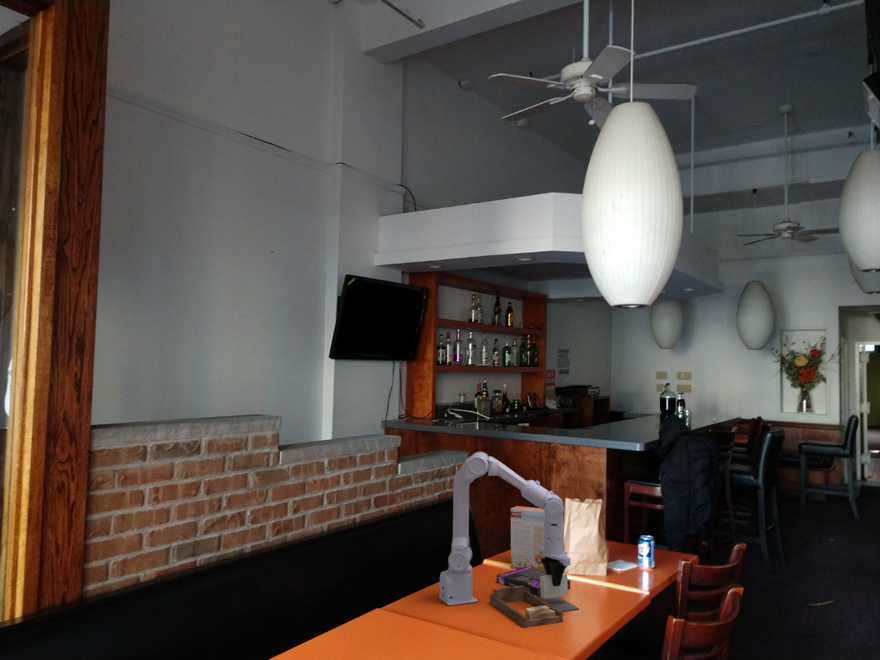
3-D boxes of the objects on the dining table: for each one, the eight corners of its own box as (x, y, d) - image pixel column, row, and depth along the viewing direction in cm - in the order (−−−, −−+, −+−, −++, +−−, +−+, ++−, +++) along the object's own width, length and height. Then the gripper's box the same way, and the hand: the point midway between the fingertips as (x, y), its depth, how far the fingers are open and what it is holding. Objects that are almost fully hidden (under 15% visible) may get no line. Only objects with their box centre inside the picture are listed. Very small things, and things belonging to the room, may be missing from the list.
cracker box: (554, 570, 231) (554, 509, 233) (547, 575, 226) (547, 512, 228) (517, 564, 239) (517, 504, 240) (510, 568, 234) (510, 507, 235)
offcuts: (527, 625, 180) (527, 611, 180) (522, 622, 183) (522, 608, 183) (556, 621, 183) (556, 607, 184) (551, 618, 186) (551, 604, 186)
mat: (551, 613, 189) (551, 612, 189) (530, 600, 200) (530, 599, 201) (578, 609, 193) (578, 608, 193) (556, 596, 204) (556, 595, 204)
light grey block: (544, 599, 194) (543, 577, 195) (540, 596, 196) (540, 576, 197) (567, 595, 197) (567, 574, 198) (563, 593, 199) (563, 572, 200)
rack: (524, 627, 179) (524, 612, 179) (490, 603, 198) (490, 589, 198) (562, 621, 183) (562, 606, 183) (525, 598, 202) (525, 584, 202)
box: (496, 585, 218) (541, 599, 203) (496, 574, 218) (541, 588, 203) (525, 576, 227) (571, 590, 212) (525, 566, 227) (570, 578, 212)
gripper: (579, 541, 193) (579, 590, 192) (552, 530, 206) (553, 576, 205) (558, 544, 190) (558, 593, 189) (532, 532, 204) (532, 578, 203)
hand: (554, 584), depth 197 cm, fingers closed on light grey block, 2 cm apart
